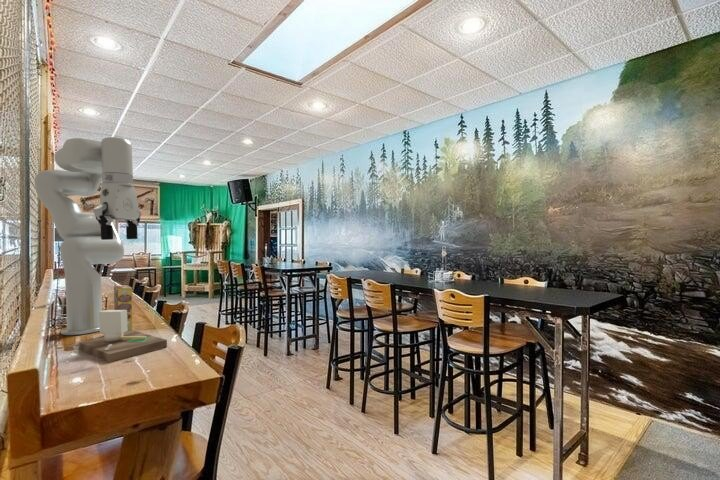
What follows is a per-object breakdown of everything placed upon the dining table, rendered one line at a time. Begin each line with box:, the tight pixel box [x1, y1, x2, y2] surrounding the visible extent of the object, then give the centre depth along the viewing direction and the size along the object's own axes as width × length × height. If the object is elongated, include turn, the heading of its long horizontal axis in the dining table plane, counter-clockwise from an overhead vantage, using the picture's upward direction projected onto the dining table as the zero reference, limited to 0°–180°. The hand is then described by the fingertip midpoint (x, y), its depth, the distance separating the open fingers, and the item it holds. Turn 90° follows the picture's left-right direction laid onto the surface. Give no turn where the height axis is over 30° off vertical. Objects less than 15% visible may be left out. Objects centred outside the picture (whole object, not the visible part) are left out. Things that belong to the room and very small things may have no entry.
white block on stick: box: [99, 309, 147, 342], centre depth 101 cm, size 13×4×8 cm, turn 85°
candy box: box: [113, 284, 133, 333], centre depth 116 cm, size 9×4×15 cm, turn 39°
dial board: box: [78, 330, 168, 363], centre depth 100 cm, size 20×14×2 cm
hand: (120, 239), depth 106 cm, fingers open, 9 cm apart
